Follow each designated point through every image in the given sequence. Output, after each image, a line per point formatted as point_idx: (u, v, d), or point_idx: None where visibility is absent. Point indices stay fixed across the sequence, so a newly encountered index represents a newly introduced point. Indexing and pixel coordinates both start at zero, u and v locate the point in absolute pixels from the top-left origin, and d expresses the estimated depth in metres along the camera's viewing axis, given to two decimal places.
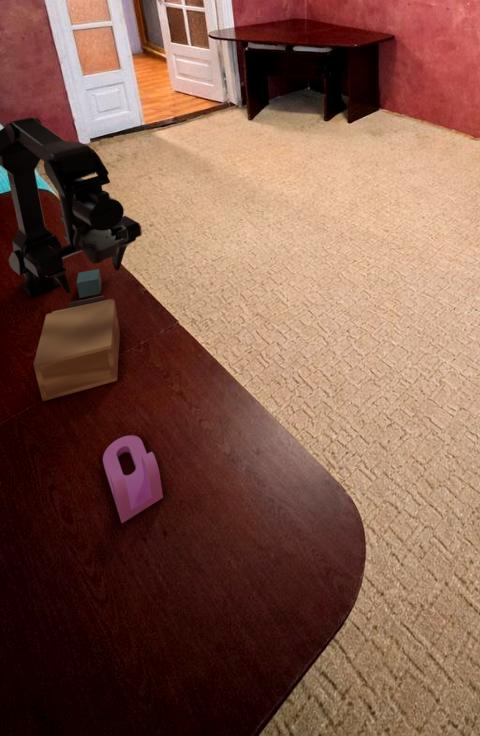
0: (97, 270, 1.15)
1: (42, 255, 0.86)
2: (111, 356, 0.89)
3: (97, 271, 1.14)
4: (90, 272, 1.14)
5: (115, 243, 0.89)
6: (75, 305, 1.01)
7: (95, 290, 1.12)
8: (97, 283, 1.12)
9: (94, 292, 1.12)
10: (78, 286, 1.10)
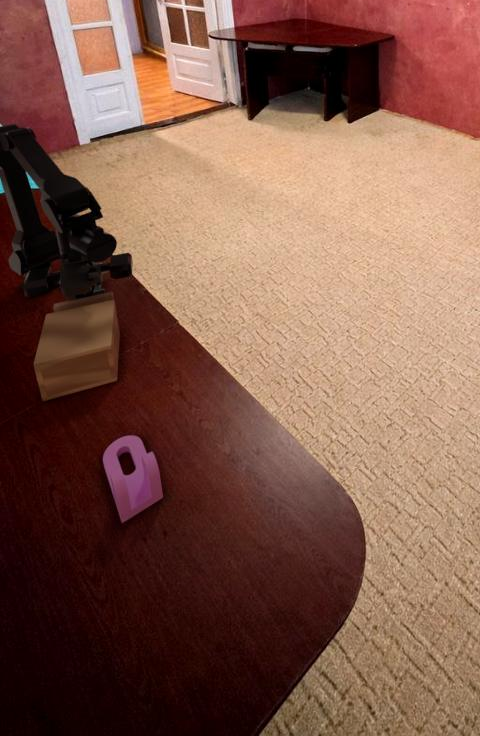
0: None
1: (35, 276, 0.96)
2: (111, 356, 0.89)
3: None
4: None
5: (82, 283, 0.93)
6: (76, 298, 1.03)
7: (95, 290, 1.12)
8: None
9: None
10: None
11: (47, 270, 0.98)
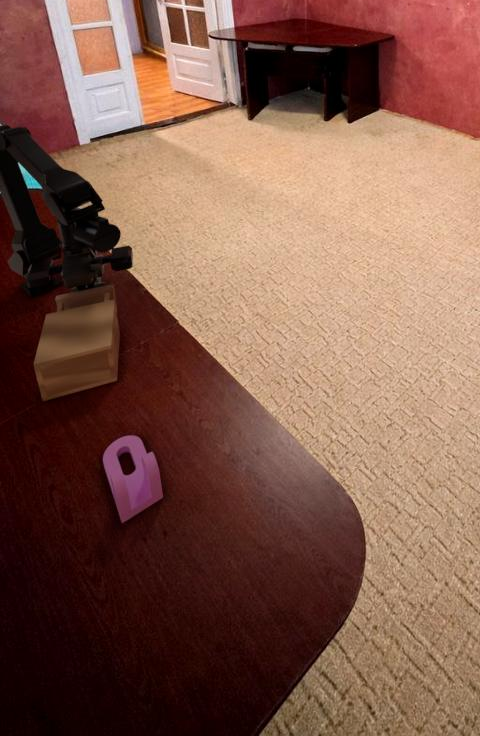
0: None
1: (38, 268, 0.99)
2: (111, 356, 0.89)
3: None
4: None
5: (84, 274, 0.96)
6: (78, 290, 1.05)
7: None
8: None
9: None
10: None
11: (49, 262, 1.01)
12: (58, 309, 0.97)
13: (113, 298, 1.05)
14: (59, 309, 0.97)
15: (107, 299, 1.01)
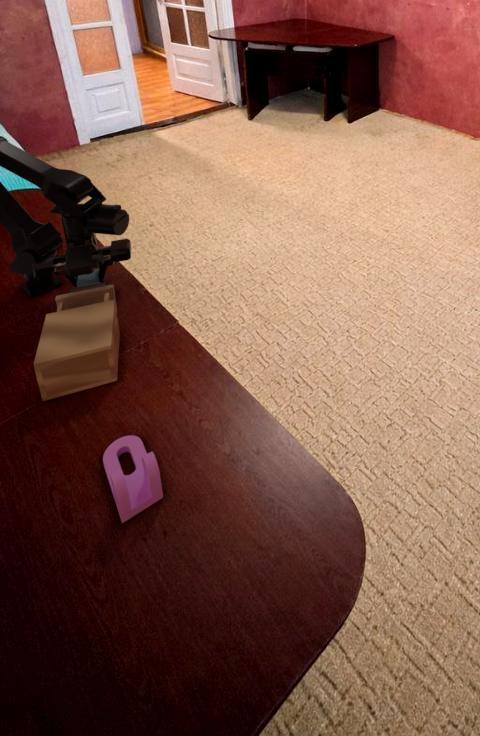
0: (97, 270, 1.15)
1: (43, 258, 1.06)
2: (111, 356, 0.89)
3: (97, 271, 1.14)
4: None
5: (86, 264, 1.04)
6: (78, 290, 1.05)
7: None
8: None
9: None
10: (78, 286, 1.10)
11: (53, 253, 1.08)
12: (58, 309, 0.97)
13: (113, 298, 1.05)
14: (59, 309, 0.97)
15: (107, 299, 1.01)
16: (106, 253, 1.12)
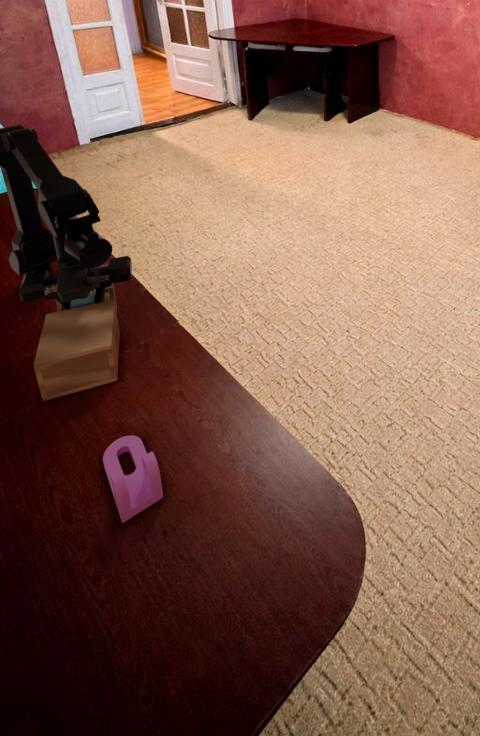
0: (93, 291, 1.02)
1: (31, 280, 0.94)
2: (111, 356, 0.89)
3: (93, 293, 1.01)
4: None
5: (80, 288, 0.91)
6: None
7: None
8: None
9: None
10: None
11: (44, 274, 0.95)
12: (58, 309, 0.97)
13: (113, 298, 1.05)
14: (59, 309, 0.97)
15: (107, 299, 1.01)
16: (104, 273, 0.99)
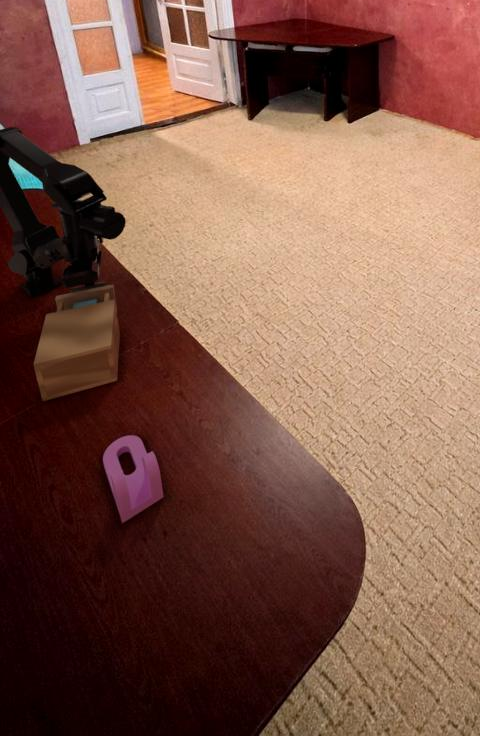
0: (95, 299, 1.02)
1: None
2: (111, 356, 0.89)
3: (95, 300, 1.02)
4: (87, 302, 1.02)
5: (34, 256, 1.00)
6: (78, 290, 1.05)
7: None
8: None
9: None
10: None
11: None
12: (58, 309, 0.97)
13: (113, 298, 1.05)
14: (59, 309, 0.97)
15: (107, 299, 1.01)
16: None
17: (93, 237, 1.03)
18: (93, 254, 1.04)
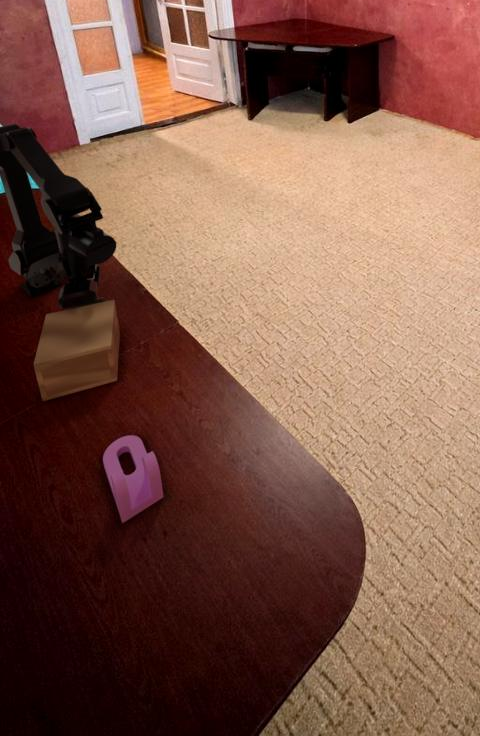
0: None
1: None
2: (111, 356, 0.89)
3: None
4: None
5: (29, 274, 0.95)
6: (75, 306, 1.01)
7: None
8: None
9: None
10: None
11: None
12: None
13: None
14: None
15: None
16: None
17: None
18: (91, 271, 0.99)
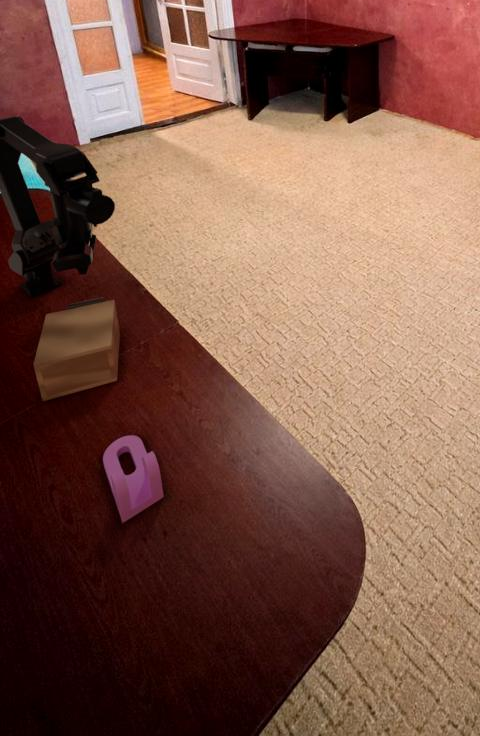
0: None
1: None
2: (111, 356, 0.89)
3: None
4: None
5: (23, 238, 0.94)
6: (75, 306, 1.01)
7: None
8: None
9: None
10: None
11: None
12: None
13: None
14: None
15: None
16: None
17: None
18: (86, 237, 0.98)
